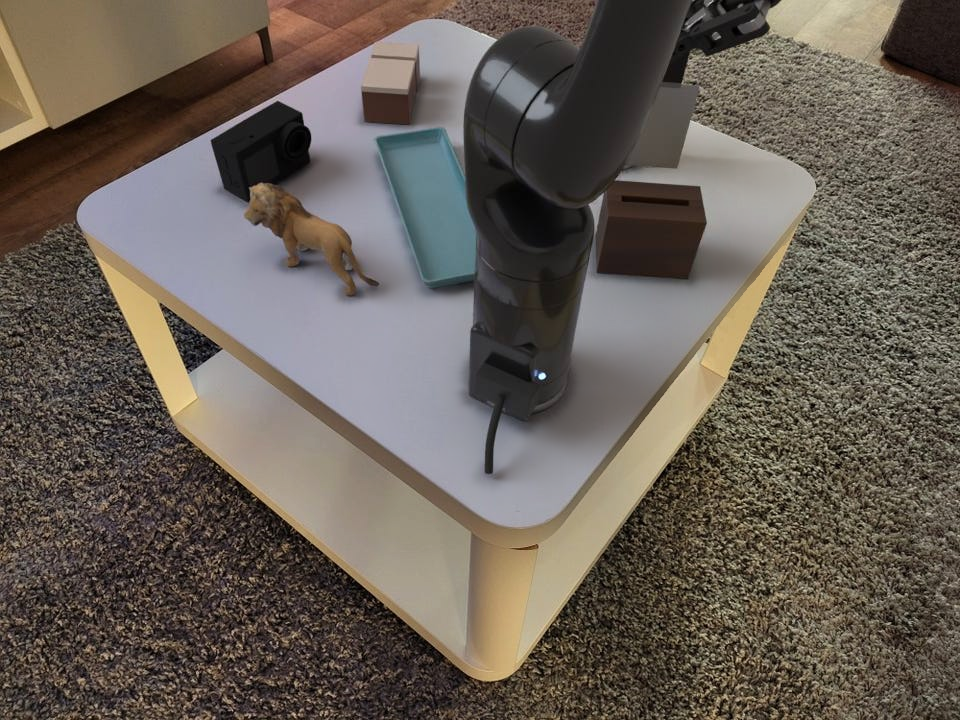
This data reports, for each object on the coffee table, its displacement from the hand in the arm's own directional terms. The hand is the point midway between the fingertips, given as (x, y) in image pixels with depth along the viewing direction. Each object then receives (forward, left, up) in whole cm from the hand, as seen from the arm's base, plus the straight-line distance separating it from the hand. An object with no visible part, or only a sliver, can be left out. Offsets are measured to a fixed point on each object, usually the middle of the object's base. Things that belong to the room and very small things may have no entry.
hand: (650, 54), depth 68 cm
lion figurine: (-20, +26, -23) cm, 40 cm away
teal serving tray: (-5, +20, -23) cm, 31 cm away
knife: (+1, -2, -12) cm, 12 cm away
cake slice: (+16, +39, -23) cm, 48 cm away
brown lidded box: (+10, +36, -23) cm, 44 cm away
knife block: (0, -4, -23) cm, 23 cm away
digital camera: (-10, +40, -23) cm, 48 cm away
